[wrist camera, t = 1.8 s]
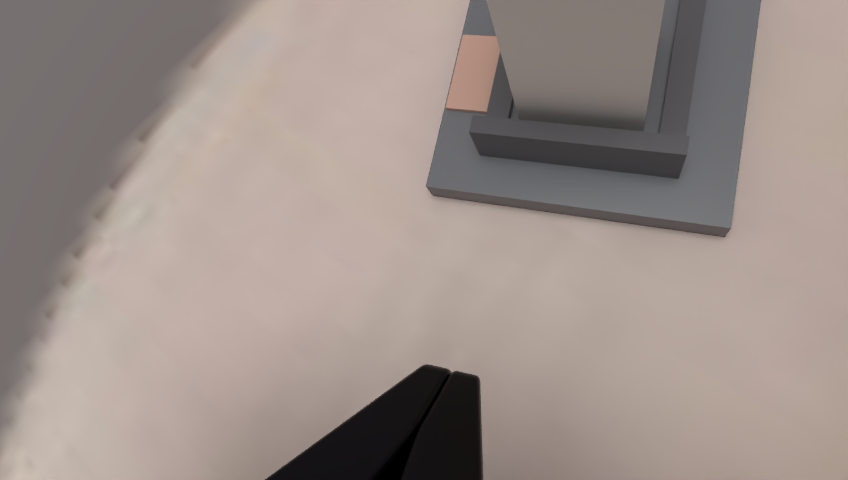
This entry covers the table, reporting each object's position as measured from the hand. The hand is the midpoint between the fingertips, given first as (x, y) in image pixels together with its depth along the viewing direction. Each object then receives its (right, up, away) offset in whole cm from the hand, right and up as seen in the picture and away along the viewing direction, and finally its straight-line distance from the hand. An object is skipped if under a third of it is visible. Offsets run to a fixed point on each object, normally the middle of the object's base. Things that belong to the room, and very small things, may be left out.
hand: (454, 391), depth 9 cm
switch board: (+6, +10, +14) cm, 18 cm away
